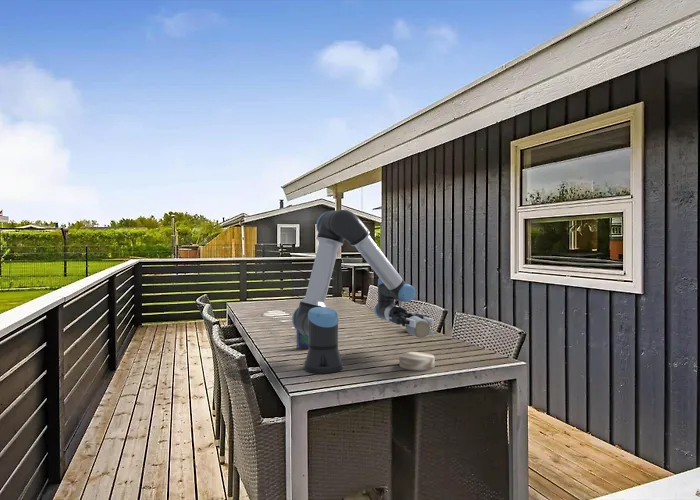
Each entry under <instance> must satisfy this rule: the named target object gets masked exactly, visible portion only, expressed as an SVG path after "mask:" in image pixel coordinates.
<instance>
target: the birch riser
mask: <svg viewBox="0 0 700 500" xmlns="http://www.w3.org/2000/svg"><path fill="white" fill-rule="evenodd" d="M398 358H399V359H398V360H399V367H400V368H402V369H404V370H409V371H428V370H431V369H434V368H435V366H436V365H435V362H436V361H435V360H436V359H435V358H436V357H435V355H434V354H432V353H428V352H424V351H423V352H421V351H420V352H419V351H408V352H403V353H400V354H399V357H398Z"/></svg>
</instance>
